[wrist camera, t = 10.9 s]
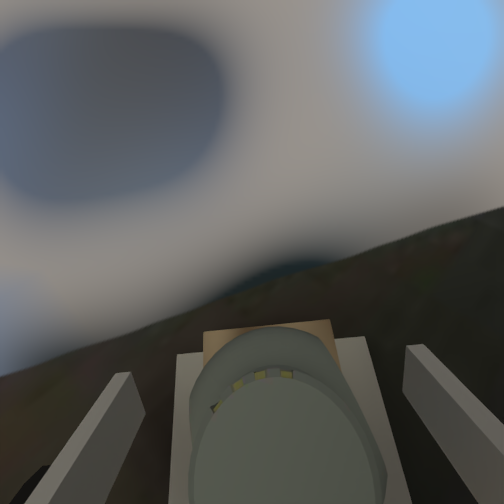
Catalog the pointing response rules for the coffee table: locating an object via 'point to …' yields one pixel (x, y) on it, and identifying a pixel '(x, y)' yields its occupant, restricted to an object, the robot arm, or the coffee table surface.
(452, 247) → the coffee table surface
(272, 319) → the coffee table surface
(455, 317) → the coffee table surface
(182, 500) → the mat
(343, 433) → the air freshener
